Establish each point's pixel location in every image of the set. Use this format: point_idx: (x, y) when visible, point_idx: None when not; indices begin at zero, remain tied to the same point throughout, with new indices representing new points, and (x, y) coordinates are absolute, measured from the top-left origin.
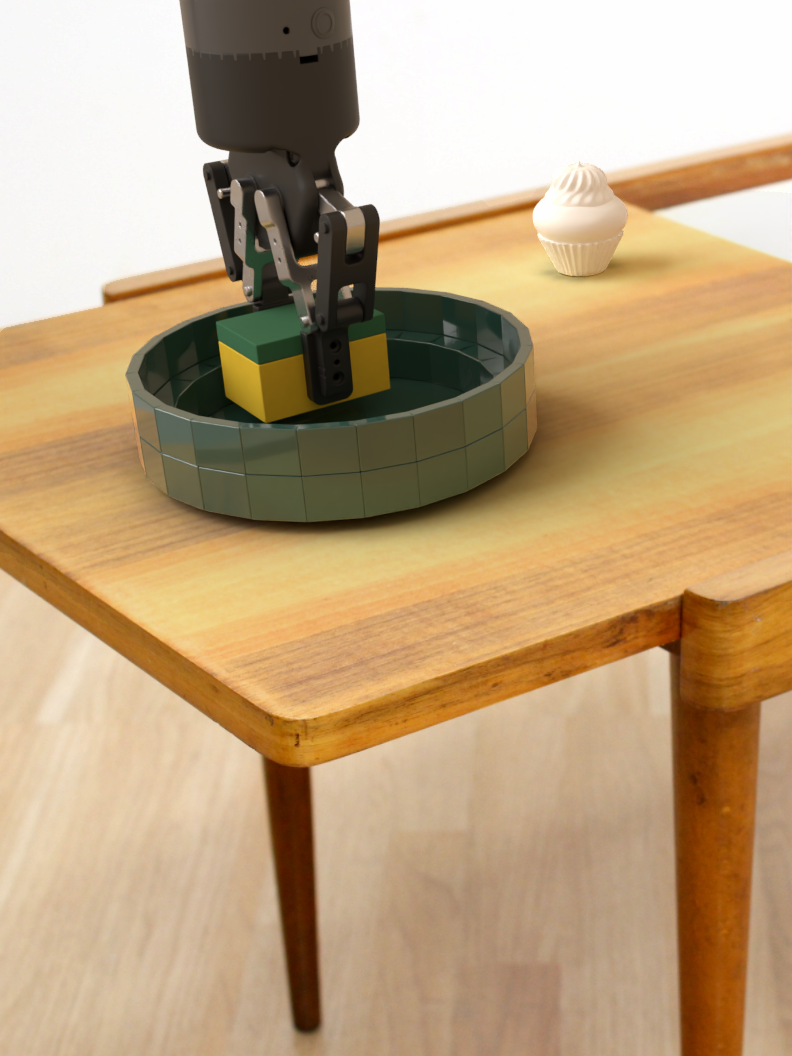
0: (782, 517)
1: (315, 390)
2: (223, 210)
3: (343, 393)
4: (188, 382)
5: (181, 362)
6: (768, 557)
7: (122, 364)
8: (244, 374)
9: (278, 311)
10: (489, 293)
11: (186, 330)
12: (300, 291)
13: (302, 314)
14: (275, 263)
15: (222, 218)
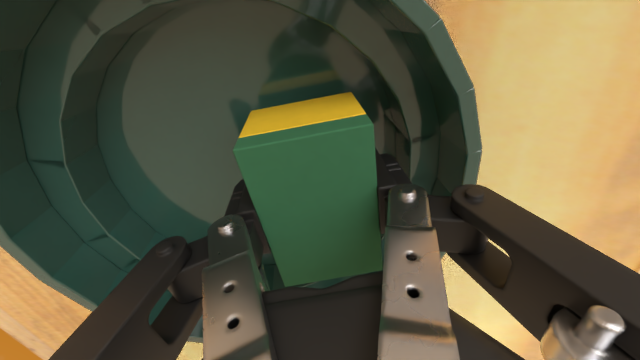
0: (61, 326)
1: None
2: (564, 281)
3: None
4: (370, 52)
5: (419, 57)
6: (3, 310)
7: (616, 18)
8: (287, 118)
9: (360, 205)
10: (474, 308)
11: (446, 82)
12: (217, 260)
13: (229, 232)
14: (252, 275)
15: (550, 263)
